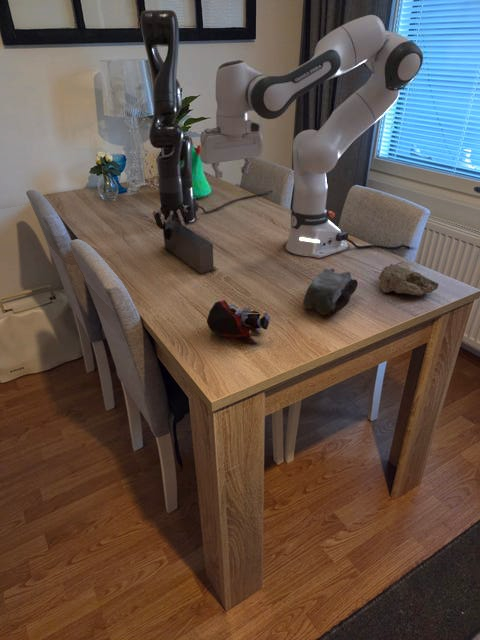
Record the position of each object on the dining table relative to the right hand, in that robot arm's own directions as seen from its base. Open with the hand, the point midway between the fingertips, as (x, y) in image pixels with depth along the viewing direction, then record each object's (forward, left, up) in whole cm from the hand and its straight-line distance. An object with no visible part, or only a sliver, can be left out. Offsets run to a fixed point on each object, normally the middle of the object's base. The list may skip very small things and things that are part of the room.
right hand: (232, 175), depth 134 cm
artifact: (-39, +38, -29) cm, 62 cm away
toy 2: (+18, +42, -29) cm, 54 cm away
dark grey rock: (-13, +38, -29) cm, 49 cm away
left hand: (+14, -19, -24) cm, 33 cm away
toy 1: (-14, -80, -29) cm, 87 cm away
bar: (+13, -9, -29) cm, 33 cm away
